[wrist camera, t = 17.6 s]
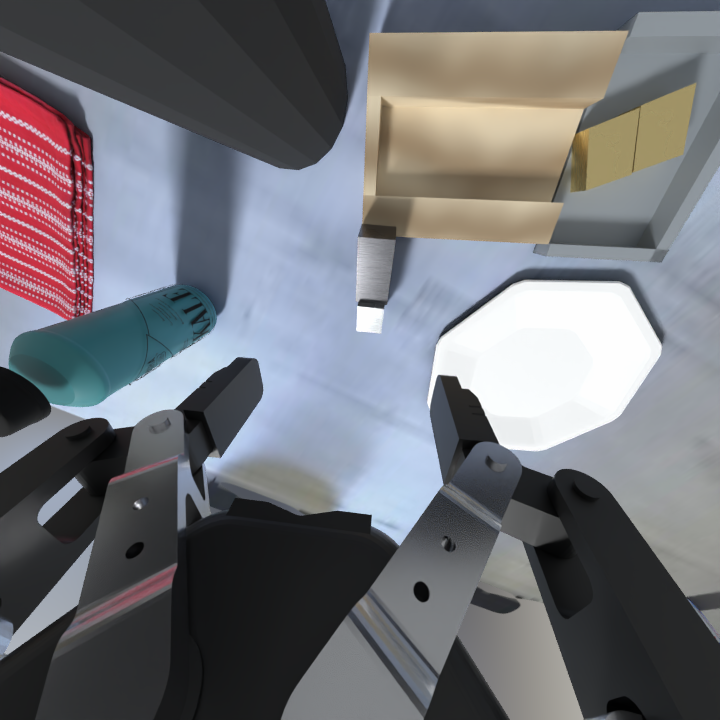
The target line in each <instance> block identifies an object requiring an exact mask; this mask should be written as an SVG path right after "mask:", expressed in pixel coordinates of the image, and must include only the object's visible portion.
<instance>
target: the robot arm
mask: <svg viewBox="0 0 720 720" xmlns="http://www.w3.org/2000/svg"><path fill="white" fill-rule="evenodd" d="M262 394H263V384H262V379H261V374H260V369H259V364H258V361H257V360H256V359H254V358H243V357H238V358H236V359H235V360H234V361H233V362H232V363H231V364H230V365H229V366H228V367H224V368H223V369H221V370H219V371H217V372H215V373H214V374H212V375H211V376H210V377H209V378H208V379H207V380H206V382H204V383H203V384H202V385H201V386H199V388H197V389H196V390H195V391H194V392H193V393H192V394H191V395H190V396H189V397H187V398H186V399H185V400H184V401H183V402H182V403H181V404H180V405H179V406H178V407H177V408H176V409H174V410H163V411H159V412H156V413H154V414H151V415H149V416H147V417H145V418H144V419H142V420H141V421H140V422H139V423H138V424H137V425H136V426H134V427H126V428H119V429H113V428H112V427H111V425H110V424H109V422H108V421H107V420H106V419H104V418H91V419H86V420H83V421H80V422H77V423H74V424H72V425H70V426H68V427H66V428H65V429H62V430H61V431H59V432H58V433H56V434H55V435H53V436H52V437H51V438H49V439H48V440H47V441H45V442H43V443H42V444H41V445H39V446H38V447H37V448H35V449H34V450H32V451H31V452H29V453H28V454H27V455H25V456H24V457H22V458H21V459H19V460H18V461H17V462H15V463H14V464H12V465H11V466H10V467H9V468H7V469H5V470H4V471H3V472H1V473H0V720H510V719H509V718H508V716H507V714H506V713H505V711H504V709H503V708H502V706H501V705H500V703H499V701H498V700H497V698H496V697H495V695H494V693H493V692H492V690H491V689H490V687H489V685H488V684H487V682H486V681H485V679H484V677H483V676H482V674H481V673H480V671H479V669H478V668H477V666H476V665H475V663H474V661H473V660H472V658H471V657H470V655H469V653H468V652H467V650H466V649H465V647H464V645H463V644H462V642H461V641H460V639H459V637H458V636H457V633H458V630H459V628H460V626H461V623H462V621H463V618H464V616H465V614H466V611H467V609H468V606H469V604H470V602H471V599H472V597H473V594H474V592H475V590H476V587H477V585H478V582H479V580H480V578H481V575H482V573H483V570H484V568H485V566H486V563H487V561H488V558H489V556H490V554H491V551H492V549H493V547H494V544H495V542H496V539H497V537H498V534H499V532H500V531H501V532H504V533H506V534H508V535H510V536H512V537H515V538H517V539H519V540H521V541H522V542H523V544H524V547H525V550H526V553H527V556H528V559H529V562H530V565H531V567H532V570H533V573H534V576H535V579H536V582H537V585H538V588H539V591H540V593H541V596H542V599H543V602H544V605H545V607H546V611H547V613H548V617H549V619H550V622H551V625H552V628H553V631H554V634H555V637H556V640H557V642H558V645H559V648H560V651H561V654H562V657H563V660H564V662H565V665H566V668H567V671H568V674H569V677H570V680H571V683H572V686H573V689H574V691H575V694H576V697H577V700H578V703H579V706H580V709H581V712H582V715H583V717H584V720H720V644H719V642H718V641H717V640H716V638H715V637H714V635H713V634H712V633H711V631H710V630H709V628H708V627H707V626H706V624H705V623H704V622H703V620H702V619H701V617H700V616H699V615H698V613H697V612H696V610H695V609H694V608H693V606H692V605H691V604H690V602H689V601H688V599H687V598H686V597H685V595H684V594H683V592H682V591H681V590H680V588H679V587H678V585H677V584H676V583H675V581H674V580H673V579H672V577H671V576H670V574H669V573H668V572H667V570H666V569H665V567H664V566H663V565H662V563H661V562H660V560H659V559H658V558H657V556H656V555H655V554H654V552H653V551H652V549H651V548H650V547H649V545H648V544H647V542H646V541H645V540H644V538H643V537H642V536H641V534H640V533H639V531H638V530H637V529H636V527H635V526H634V524H633V523H632V522H631V520H630V519H629V517H628V516H627V515H626V513H625V512H624V511H623V509H622V508H621V506H620V505H619V504H618V502H617V501H616V499H615V498H614V497H613V495H612V494H611V493H610V492H609V491H608V490H607V489H606V488H605V487H604V486H603V485H602V484H601V483H599V482H598V481H597V480H595V479H594V478H592V477H590V476H588V475H586V474H584V473H582V472H579V471H576V470H572V469H562V470H559V471H557V473H556V474H555V475H554V477H551V476H548V475H545V474H542V473H540V472H537V471H534V470H531V469H528V468H526V467H524V466H522V465H521V463H520V461H519V459H518V458H517V457H516V456H515V455H514V454H513V453H512V452H511V451H510V450H508V449H507V448H505V447H504V446H501V445H500V444H499V442H498V440H497V438H496V436H495V433H494V431H493V429H492V427H491V425H490V423H489V421H488V419H487V416H485V412H484V410H483V408H482V406H481V404H480V402H479V399H478V397H477V396H476V395H475V394H473V393H472V392H471V391H470V390H469V389H463V388H461V385H460V383H459V380H458V378H457V376H448V375H438V376H437V378H436V382H435V386H434V391H433V395H432V399H431V404H430V418H431V423H432V428H433V433H434V438H435V443H436V448H437V453H438V458H439V463H440V469H441V474H442V479H443V484H444V485H443V486H442V487H441V489H440V490H439V491H438V493H437V494H436V496H435V497H434V498H433V500H432V501H431V503H430V504H429V506H428V507H427V508H426V510H425V511H424V513H423V514H422V515H421V517H420V518H419V520H418V521H417V523H416V524H415V525H414V527H413V528H412V530H411V531H410V532H409V534H408V535H407V537H406V538H405V540H404V541H403V542H402V544H401V545H400V546H399V545H398V544H397V543H396V542H395V541H394V540H393V539H391V538H390V537H389V536H388V535H386V534H385V533H383V532H382V531H380V530H378V529H376V528H374V527H372V526H371V517H372V515H367V514H359V513H351V512H343V511H332V512H325V513H318V514H311V515H304V516H299V515H295V514H293V513H291V512H289V511H287V510H284V509H282V508H280V507H277V506H276V505H273V504H271V503H269V502H263V501H255V500H247V499H240V498H235V500H234V501H233V503H232V505H231V507H230V509H229V510H224V511H221V512H217V513H214V514H211V512H210V506H209V497H208V487H207V477H206V468H205V464H204V461H205V460H206V459H207V457H216V458H221V457H222V455H223V454H224V452H225V451H226V449H227V448H228V446H229V445H230V444H231V442H232V441H233V439H234V438H235V436H236V435H237V433H238V432H239V430H240V429H241V428H242V426H243V425H244V423H245V422H246V420H247V419H248V417H249V416H250V414H251V413H252V411H253V410H254V409H255V407H256V406H257V404H258V403H259V401H260V400H261V398H262ZM74 477H75V478H76V479H77V480H78V481H79V483H80V484H81V485H82V486H83V488H82V489H80V490H79V491H78V492H77V493H76V494H75V495H74V496H73V497H72V498H71V499H70V500H69V501H68V502H67V503H66V504H65V505H64V506H63V507H62V508H61V509H60V510H59V511H58V512H56V513H55V514H54V515H53V516H52V517H51V518H50V519H49V520H48V521H47V522H46V523H45V524H44V525H43V526H41V525H40V524H39V523H38V521H37V516H38V513H39V511H40V509H41V508H42V506H43V505H44V504H45V503H46V502H47V501H48V500H49V499H50V498H51V497H53V496H54V495H55V494H56V493H57V492H58V491H59V490H60V489H61V488H63V487H64V486H65V485H66V484H67V483H68V482H69V481H70V480H72V478H74ZM93 540H94V544H93V548H92V552H91V556H90V560H89V564H88V568H87V572H86V576H85V580H84V584H83V588H82V592H81V596H80V600H79V604H78V605H77V606H76V607H74V608H73V609H72V610H70V611H69V612H67V613H66V614H65V615H63V616H62V617H60V618H59V619H58V620H56V621H55V622H53V623H52V624H51V625H49V626H48V627H46V628H45V629H44V630H42V631H41V632H39V633H38V634H36V635H35V636H34V637H32V638H31V639H30V640H28V641H27V642H25V643H24V644H22V645H21V646H20V647H18V648H17V649H15V650H14V651H13V652H11V653H10V654H8V655H7V654H5V653H4V652H5V650H6V649H7V647H8V645H9V643H10V640H11V638H12V636H13V634H14V633H15V632H16V631H17V630H18V629H19V627H20V626H21V625H22V624H23V623H24V621H25V620H26V619H27V618H28V617H29V616H30V614H31V613H32V612H33V611H34V610H35V608H36V607H37V606H38V605H39V604H40V602H41V601H42V600H43V599H44V598H45V596H46V595H47V594H48V593H49V592H50V591H51V589H52V588H53V587H54V586H55V585H56V584H57V582H58V581H59V580H60V579H61V577H62V576H63V575H64V574H65V573H66V571H67V570H68V569H69V568H70V567H71V566H72V565H73V563H74V562H75V561H76V560H77V559H78V557H79V556H80V555H81V554H82V553H83V552H84V550H85V549H86V548H87V547H88V546H89V545H90V543H91V542H92V541H93Z"/></svg>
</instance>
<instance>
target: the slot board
mask: <svg viewBox="0 0 720 720" xmlns="http://www.w3.org/2000/svg"><path fill="white" fill-rule="evenodd" d="M628 32H629V31H542V32H431V33H370V36H369V62H368V88H367V115H366V141H365V168H364V194H363V220H362V224H370V225H382V226H394V227H396V237H414V238H434V239H454V240H473V241H493V242H513V243H533V244H549V242H550V239H551V236H552V234H553V231H554V228H555V226H556V223H557V220H558V218H559V215H560V212H561V210H562V207H563V204H564V203H553V202H551V201H552V198H553V195H554V192H555V189H556V187H557V184H558V181H559V178H560V175H561V172H562V170H563V167H564V164H565V161H566V158H567V156H568V153H569V150H570V147H571V144H572V141H573V139H574V136H575V133H576V130H577V127H578V124H579V122H580V119H581V116H582V113H583V110H584V109H585V108H587V107H589V106H590V105H592V104H594V103H596V102H598V101H599V100H601V99H603V98H604V96H605V93H606V90H607V88H608V85H609V82H610V80H611V77H612V74H613V72H614V69H615V66H616V64H617V61H618V58H619V56H620V53H621V50H622V48H623V45H624V42H625V40H626V37H627V34H628Z"/></svg>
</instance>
